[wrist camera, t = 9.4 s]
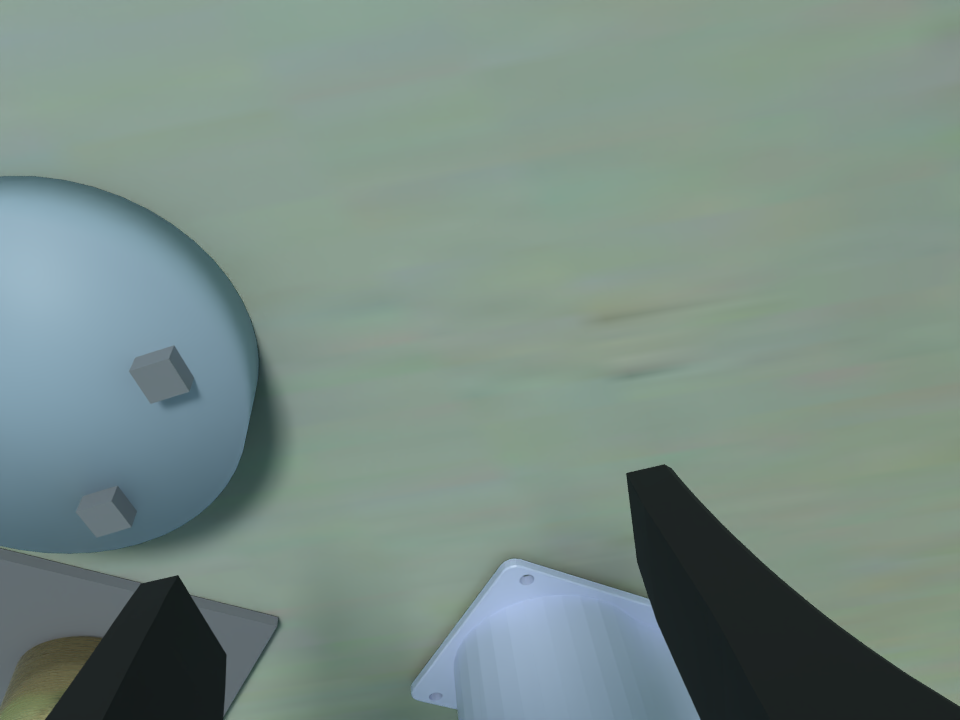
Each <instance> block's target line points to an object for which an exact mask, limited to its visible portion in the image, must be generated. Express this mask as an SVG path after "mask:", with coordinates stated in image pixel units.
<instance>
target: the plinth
mask: <svg viewBox="0 0 960 720" xmlns="http://www.w3.org/2000/svg"><path fill="white" fill-rule="evenodd" d="M258 370H259V357H258V349H257V341H256V337H255V333H254V330H253V326H252V323H251V319H250V317H249V315H248V313H247V310H246V308H245V306H244V304H243V302H242V299H241V298H240V296H239V294H238V293H237V291H236V290H235V288H234V286H233V285H232V283H231V282H230V280H229V278H228V277H227V276H226V275H225V274H224V272H223V271H222V270H221V269H220V267H219V266H218V265H217V264H216V262H215V261H214V260H213V259H212V258H211V257H210V256H209V255H208V254H207V253H206V252H205V251H204V250H203V249H202V248H201V247H200V246H199V245H198V244H197V243H196V242H195V241H193V240H192V239H191V238H190V237H188V236H187V235H186V234H184V233H183V232H182V231H180V230H179V229H178V228H177V227H175V226H174V225H173V224H171V223H170V222H168V221H166V220H165V219H163V218H161V217H160V216H158V215H156V214H155V213H153V212H152V211H150V210H148V209H146V208H144V207H142V206H140V205H138V204H136V203H134V202H132V201H129V200H127V199H125V198H123V197H121V196H118V195H115V194H112V193H109V192H107V191H104V190H101V189H98V188H95V187H92V186H88V185H84V184H79V183H75V182H71V181H66V180H61V179H52V178H44V177H36V176H2V177H0V546H4V547H9V548H14V549H18V550H26V551H35V552H43V553H67V554H72V553H92V552H101V551H108V550H115V549H120V548H124V547H128V546H132V545H136V544H141V543H143V542H146V541H149V540H152V539H154V538H157V537H160V536H163V535H165V534H167V533H169V532H171V531H173V530H175V529H177V528H179V527H181V526H182V525H184V524H185V523H187V522H188V521H190V520H191V519H193V518H194V517H196V516H197V515H199V514H200V513H201V512H202V511H203V510H204V509H205V508H207V507H208V506H209V505H210V504H211V503H212V502H213V501H214V500H215V499H216V498H217V497H218V495H219V494H220V493H221V492H222V491H223V489H224V488H225V487H226V486H227V484H228V482H229V480H230V479H231V477H232V475H233V474H234V472H235V470H236V468H237V466H238V463H239V460H240V458H241V455H242V453H243V449H244V444H245V439H246V435H247V430H248V425H249V421H250V416H251V411H252V407H253V402H254V397H255V392H256V387H257V382H258Z"/></svg>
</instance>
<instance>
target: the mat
mask: <svg viewBox="0 0 960 720" xmlns="http://www.w3.org/2000/svg"><path fill="white" fill-rule="evenodd" d="M140 584H142V583H139V582H134V581H130V580H126V579H122V578H118V577H114V576H110V575H106V574H102V573H98V572H94V571H90V570H86V569H82V568H78V567H74V566H70V565H66V564H62V563H58V562H54V561H50V560H45V559H41V558H37V557H33V556H29V555H25V554H21V553H17V552H13V551H9V550H5V549H1V548H0V706H1V704H2V701H3V698H4V696H5V693H6V691H7V688H8V686H9V683H10V681H11V678H12V675H13V673H14V670H15V668H16V665H17V663H18V661H19V659H20V658H21V657H22V656H23V655H24V654H25V653H26V652H27V651H28V650H30V649H31V648H33V647H35V646H37V645H39V644H41V643H44V642H46V641H50V640H53V639H58V638H64V637H76V636H84V637H96V638H103V637H104V635H105V634H106V632H107V631H108V629H109V628H110V627H111V625H112V624H113V622H114V621H115V619H116V618H117V616H118V615H119V614H120V612H121V611H122V609H123V608H124V606H125V605H126V603H127V602H128V601H129V599H130V598H131V596H132V595H133V594H134V592H135V591H136V590H137V588H138V587H139V585H140ZM190 596H191V595H190ZM191 597H192V599H193V600H194V602H195V604H196V605H197V607H198V609H199V610H200V612H201V614H202V615H203V617H204V618H205V620H206V622H207V623H208V625H209V627H210V628H211V630H212V632H213V633H214V635H215V636H216V638H217V640H218V641H219V643H220V645H221V646H222V648H223V650H224V651H225V653H226V654H227V659H226V685H225V701H224V715H225V713H226V712H227V710H228V708H229V707H230V705H231V703H232V702H233V700H234V698H235V696H236V695H237V693H238V691H239V690H240V688H241V686H242V685H243V683H244V681H245V680H246V678H247V676H248V675H249V673H250V671H251V670H252V668H253V666H254V664H255V663H256V661H257V659H258V658H259V656H260V654H261V653H262V651H263V649H264V648H265V646H266V644H267V643H268V641H269V639H270V637H271V636H272V634H273V632H274V631H275V629H276V627H277V623H278V617H276V616H272V615H268V614H264V613H260V612H256V611H252V610H248V609H244V608H240V607H236V606H232V605H227V604H223V603H219V602H215V601H211V600H207V599H203V598H199V597H195V596H191ZM223 717H224V716H223Z"/></svg>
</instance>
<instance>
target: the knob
mask: <svg viewBox="0 0 960 720" xmlns="http://www.w3.org/2000/svg"><path fill="white" fill-rule="evenodd" d="M101 640H102V638H96V637H84V636H76V637H64V638H58V639H53V640H50V641H46V642H44V643H41V644H39V645H37V646H35V647H33V648H31V649H30V650H28V651H27V652H26V653H25V654H24V655H23V656H22V657H21V658H20V659H19V661H18V663H17V665H16V668H15V670H14V673H13V675H12V678H11V681H10V683H9V686H8V688H7V691H6V693H5V696H4V698H3V701H2V704H1V706H0V720H45V719H46V717H47V716H48V715H49V713H50V712H51V711H52V709H53V708H54V706H55V705H56V704H57V702H58V701H59V699H60V698H61V697H62V695H63V694H64V692H65V691H66V690H67V688H68V687H69V685H70V684H71V682H72V681H73V680H74V678H75V677H76V675H77V674H78V673H79V671H80V670H81V668H82V667H83V666H84V664H85V663H86V661H87V660H88V659H89V657H90V656H91V654H92V653H93V651H94V650H95V648H96V647H97V645H98V644H99V643H100V641H101Z"/></svg>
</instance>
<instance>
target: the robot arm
mask: <svg viewBox="0 0 960 720" xmlns="http://www.w3.org/2000/svg"><path fill="white" fill-rule="evenodd" d="M626 475H627V483H628V492H629V500H630V508H631V516H632V524H633V532H634V540H635V548H636V557H637V563H638V566H639V569H640V572H641V575H642V578H643V582H644V585H645V588H646V591H647V594H648V597H649V599H648V598H645V597H641V596H638V595H635V594H632V593H628V592H625V591H622V590H619V589H615V588H612V587H609V586H606V585H602V584H599V583H596V582H593V581H589V580H586V579H583V578H580V577H576V576H573V575H570V574H567V573H563V572H560V571H557V570H554V569H550V568H547V567H544V566H541V565H537V564H534V563H531V562H528V561H524V560H521V559H515V558H514V559H509V560H507V561H505V562H504V563H502V564H501V565H500V567H499V568H498V569H497V571H496V572H495V573H494V575H493V576H492V577H491V579H490V580H489V581H488V583H487V584H486V585H485V587H484V588H483V589H482V591H481V592H480V593H479V595H478V596H477V597H476V599H475V600H474V601H473V603H472V604H471V605H470V607H469V608H468V609H467V611H466V612H465V613H464V615H463V616H462V617H461V619H460V620H459V621H458V623H457V624H456V625H455V627H454V628H453V629H452V631H451V632H450V633H449V635H448V636H447V637H446V639H445V640H444V641H443V643H442V644H441V645H440V647H439V648H438V649H437V651H436V652H435V654H434V655H433V656H432V658H431V659H430V660H429V662H428V663H427V664H426V666H425V667H424V668H423V670H422V671H421V672H420V674H419V675H418V676H417V678H416V679H415V680H414V682H413V683H412V685H411V695H412V697H413V698H414V699H416V700H418V701H422V702H426V703H431V704H435V705H440V706H444V707H449V708H453V709H457V710H458V720H960V706H958V705H956V704H955V703H953V702H952V701H950V700H948V699H947V698H945V697H944V696H942V695H940V694H939V693H937V692H935V691H934V690H932V689H931V688H929V687H927V686H926V685H924V684H922V683H921V682H919V681H918V680H916V679H914V678H913V677H911V676H909V675H908V674H906V673H905V672H903V671H902V670H900V669H899V668H898V667H896V666H895V665H893V664H892V663H890V662H889V661H887V660H886V659H884V658H883V657H882V656H880V655H879V654H877V653H876V652H874V651H873V650H871V649H870V648H868V647H867V646H866V645H864V644H863V643H862V642H860V641H859V640H857V639H856V638H855V637H853V636H852V635H851V634H849V633H848V632H847V631H845V630H844V629H842V628H841V627H840V626H838V625H837V624H836V623H834V622H833V621H832V620H831V619H829V618H828V617H827V616H825V615H824V614H823V613H822V612H820V611H819V610H818V609H817V608H815V607H814V606H813V605H812V604H810V603H809V602H808V601H807V600H805V599H804V598H803V597H802V596H801V595H799V594H798V593H797V592H796V591H795V590H793V589H792V588H791V587H790V586H789V585H788V584H786V583H785V582H784V581H783V580H782V579H780V578H779V577H778V576H777V575H776V574H775V573H774V572H773V571H771V570H770V569H769V568H768V567H767V566H766V565H765V564H763V563H762V562H761V561H760V560H759V559H758V558H757V557H756V556H755V555H754V554H753V553H752V552H751V551H750V550H749V549H747V548H746V547H745V546H744V545H743V544H742V543H741V542H740V541H739V540H738V539H737V538H736V537H735V536H734V535H733V534H732V533H731V532H730V531H729V530H728V529H726V528H725V527H724V526H723V525H722V524H721V523H720V521H719V520H718V519H717V518H716V517H715V516H714V515H713V514H712V513H711V512H710V511H709V510H708V509H707V508H706V507H705V506H704V505H703V504H702V503H701V502H700V501H699V500H698V498H697V497H696V496H695V495H694V494H693V493H692V492H691V491H690V490H689V488H688V487H687V486H686V485H685V484H684V483H683V482H682V480H681V479H680V478H679V477H678V476H677V474H676V473H675V472H674V471H673V470H672V468H670V467H668V466H666V465H665V464H664V465H660V466H655V467H651V468H647V469H642V470H638V471H634V472H629V473H626ZM524 575H528V576H524ZM226 659H227V654H226V653H225V651H224V650H223V648H222V646H221V645H220V643H219V641H218V640H217V638H216V636H215V635H214V633H213V632H212V630H211V628H210V627H209V625H208V623H207V622H206V620H205V618H204V617H203V615H202V614H201V612H200V610H199V609H198V607H197V605H196V604H195V602H194V600H193V599H192V597H191V596H190V594H189V592H188V591H187V589H186V587H185V586H184V584H183V582H182V581H181V579H180V578H179V576H178V575H177V576H173V577H168V578H164V579H160V580H155V581H151V582H147V583H142V584H140V585H139V587H138V588H137V590H136V591H135V592H134V594H133V595H132V596H131V598H130V599H129V601H128V602H127V603H126V605H125V606H124V608H123V609H122V611H121V612H120V614H119V615H118V616H117V618H116V619H115V621H114V622H113V624H112V625H111V627H110V628H109V629H108V631H107V632H106V634H105V635H104V637H103V638H102V640H101V641H100V643H99V644H98V645H97V647H96V648H95V650H94V651H93V653H92V654H91V656H90V657H89V659H88V660H87V661H86V663H85V664H84V666H83V667H82V668H81V670H80V671H79V673H78V674H77V675H76V677H75V678H74V680H73V681H72V682H71V684H70V685H69V687H68V688H67V690H66V691H65V692H64V694H63V695H62V697H61V698H60V699H59V701H58V702H57V704H56V705H55V706H54V708H53V709H52V711H51V712H50V713H49V715H48V716H47V717H46V719H45V720H223V716H224V701H225V685H226Z"/></svg>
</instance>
